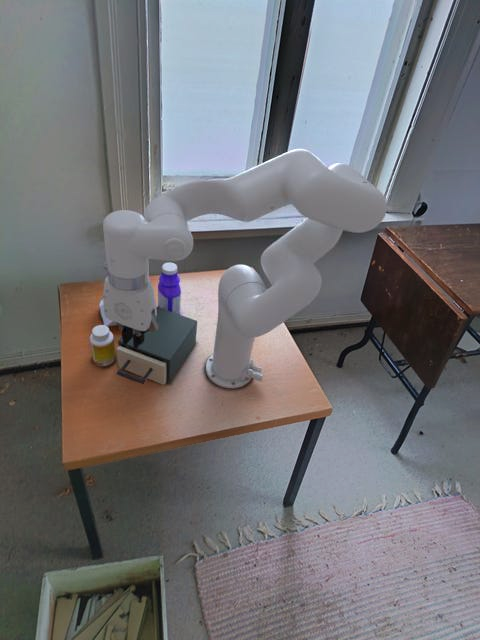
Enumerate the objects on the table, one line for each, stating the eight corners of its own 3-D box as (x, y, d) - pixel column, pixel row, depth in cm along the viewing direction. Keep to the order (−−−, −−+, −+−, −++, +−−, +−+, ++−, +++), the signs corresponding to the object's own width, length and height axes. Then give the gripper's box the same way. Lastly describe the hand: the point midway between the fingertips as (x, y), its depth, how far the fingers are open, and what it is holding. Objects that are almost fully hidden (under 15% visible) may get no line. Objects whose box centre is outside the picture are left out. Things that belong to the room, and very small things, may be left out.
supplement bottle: (119, 361, 105) (116, 333, 98) (99, 370, 102) (94, 341, 95) (109, 348, 108) (106, 319, 101) (89, 356, 105) (84, 327, 98)
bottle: (183, 319, 120) (185, 271, 108) (165, 325, 117) (166, 276, 105) (172, 304, 124) (173, 256, 112) (154, 310, 121) (153, 261, 109)
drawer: (154, 399, 96) (154, 381, 92) (107, 380, 99) (104, 362, 94) (189, 347, 110) (190, 329, 106) (147, 331, 113) (147, 313, 108)
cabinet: (169, 383, 102) (169, 360, 96) (120, 364, 104) (117, 340, 98) (195, 343, 113) (197, 320, 107) (150, 327, 115) (150, 304, 110)
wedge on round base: (139, 329, 114) (129, 301, 122) (138, 312, 109) (128, 283, 118) (106, 336, 111) (98, 305, 119) (103, 317, 106) (95, 287, 115)
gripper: (80, 272, 76) (92, 341, 89) (156, 299, 74) (157, 365, 86) (104, 253, 82) (111, 320, 94) (175, 277, 79) (173, 343, 91)
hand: (133, 341), depth 90 cm, fingers closed
